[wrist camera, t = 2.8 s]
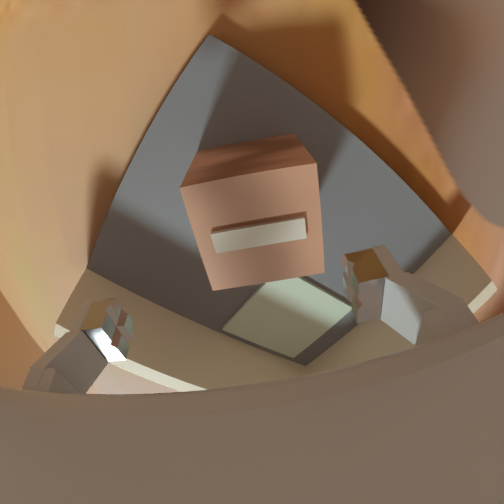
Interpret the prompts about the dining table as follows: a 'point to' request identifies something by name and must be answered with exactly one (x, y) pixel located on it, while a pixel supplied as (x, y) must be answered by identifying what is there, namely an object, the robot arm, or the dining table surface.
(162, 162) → the arena
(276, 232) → the block
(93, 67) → the dining table surface
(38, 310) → the dining table surface
